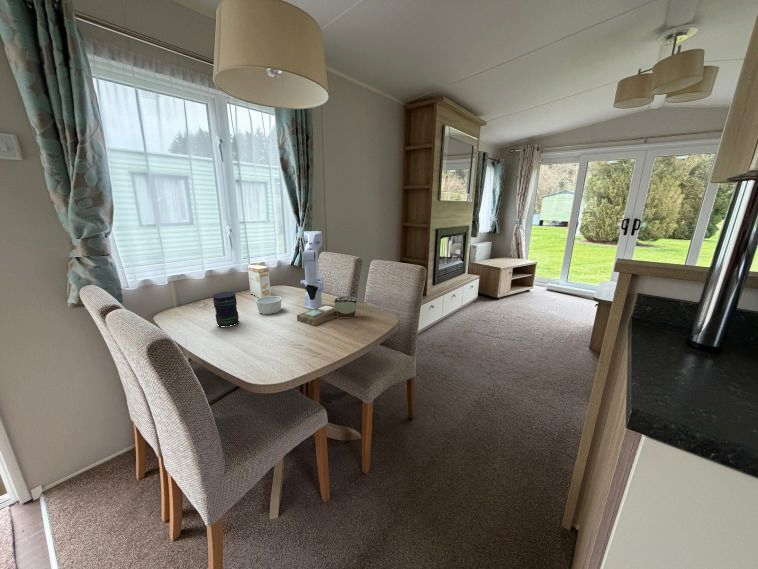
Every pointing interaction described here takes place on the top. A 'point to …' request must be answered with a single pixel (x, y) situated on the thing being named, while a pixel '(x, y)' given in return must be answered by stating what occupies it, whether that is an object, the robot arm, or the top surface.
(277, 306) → the ramekin
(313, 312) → the sage key
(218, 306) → the storage jar
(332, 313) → the key console
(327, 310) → the cream key
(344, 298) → the food container
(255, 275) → the coffeecake box
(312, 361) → the top surface
